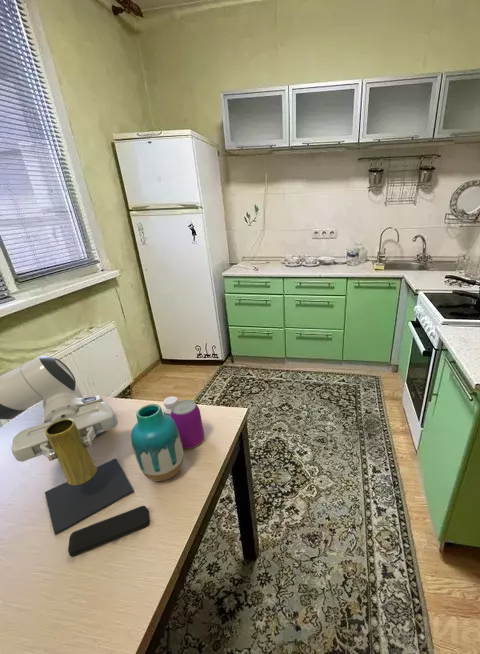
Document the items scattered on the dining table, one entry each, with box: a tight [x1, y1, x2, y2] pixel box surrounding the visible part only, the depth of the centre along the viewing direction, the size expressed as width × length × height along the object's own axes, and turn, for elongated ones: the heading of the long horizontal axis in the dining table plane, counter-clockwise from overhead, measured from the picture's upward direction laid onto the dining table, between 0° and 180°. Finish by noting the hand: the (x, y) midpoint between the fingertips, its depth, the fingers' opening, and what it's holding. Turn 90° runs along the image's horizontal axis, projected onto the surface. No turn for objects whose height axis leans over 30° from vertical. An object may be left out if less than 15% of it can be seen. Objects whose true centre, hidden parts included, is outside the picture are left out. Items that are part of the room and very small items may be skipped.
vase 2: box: [130, 403, 184, 482], centre depth 77 cm, size 11×11×19 cm
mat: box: [44, 457, 135, 536], centre depth 77 cm, size 16×14×1 cm
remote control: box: [67, 505, 151, 558], centre depth 67 cm, size 5×2×15 cm
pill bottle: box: [162, 396, 179, 417], centre depth 96 cm, size 5×5×9 cm
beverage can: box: [170, 399, 205, 449], centre depth 89 cm, size 8×8×12 cm
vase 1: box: [45, 419, 98, 485], centre depth 71 cm, size 6×6×14 cm
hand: (70, 450), depth 70 cm, fingers closed on vase 1, 5 cm apart
